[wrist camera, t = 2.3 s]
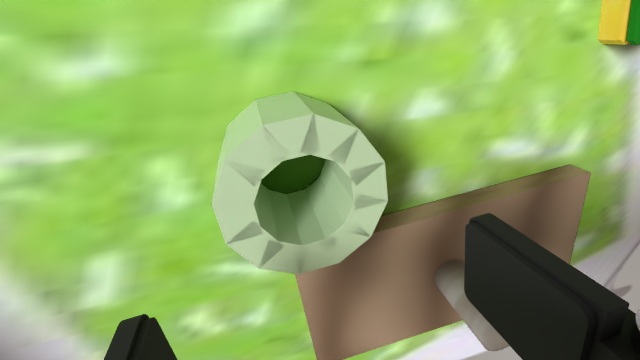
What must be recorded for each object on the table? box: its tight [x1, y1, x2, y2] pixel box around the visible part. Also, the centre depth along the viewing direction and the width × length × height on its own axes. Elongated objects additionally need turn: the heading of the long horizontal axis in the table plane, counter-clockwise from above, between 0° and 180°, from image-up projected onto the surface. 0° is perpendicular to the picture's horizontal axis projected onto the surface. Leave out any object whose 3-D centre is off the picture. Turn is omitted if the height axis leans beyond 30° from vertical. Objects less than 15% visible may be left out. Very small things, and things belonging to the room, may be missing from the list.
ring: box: [212, 91, 388, 274], centre depth 15 cm, size 7×7×5 cm
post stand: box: [295, 165, 591, 360], centre depth 20 cm, size 20×10×6 cm, turn 100°
